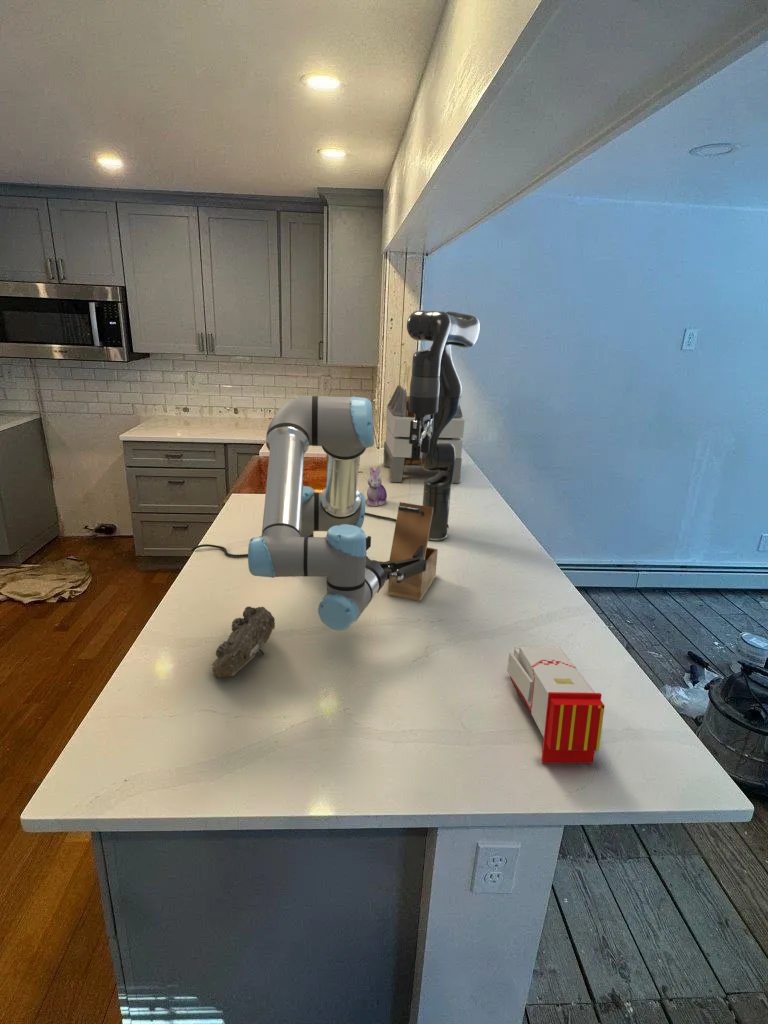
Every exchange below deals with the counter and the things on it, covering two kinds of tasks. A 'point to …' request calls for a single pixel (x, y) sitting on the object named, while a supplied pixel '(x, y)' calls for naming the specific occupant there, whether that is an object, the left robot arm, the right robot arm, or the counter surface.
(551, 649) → the toy
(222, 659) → the fossil
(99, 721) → the counter surface
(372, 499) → the figurine
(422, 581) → the chest
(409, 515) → the lid
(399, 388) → the transformer
